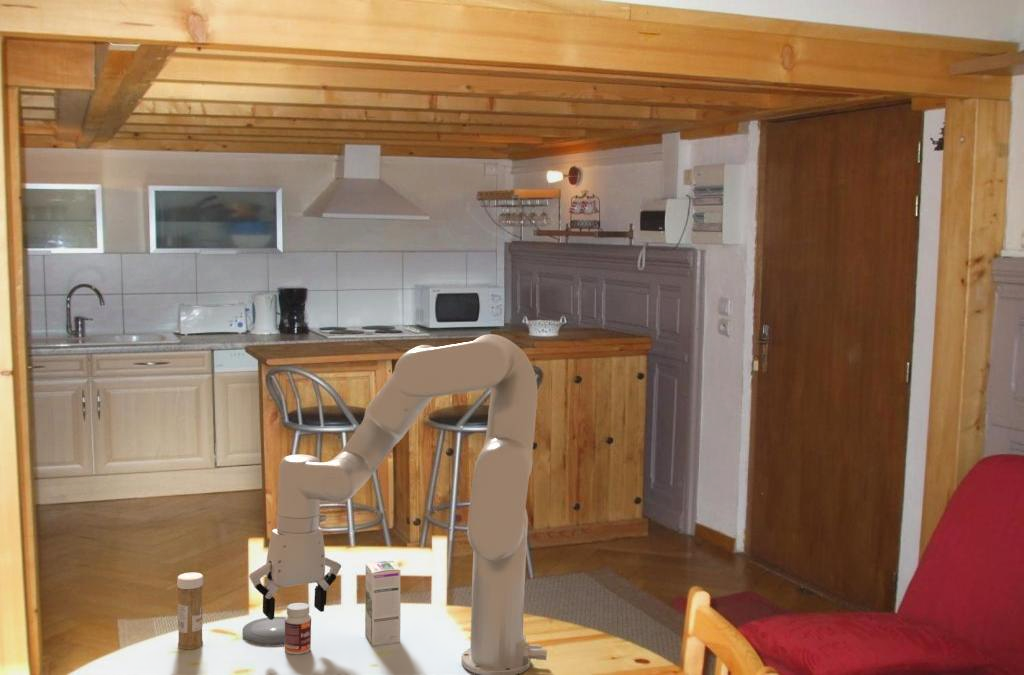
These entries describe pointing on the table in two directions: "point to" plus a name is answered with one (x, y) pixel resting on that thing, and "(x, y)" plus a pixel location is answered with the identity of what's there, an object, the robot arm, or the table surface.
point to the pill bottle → (297, 629)
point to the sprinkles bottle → (190, 610)
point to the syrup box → (382, 603)
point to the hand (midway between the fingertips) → (294, 613)
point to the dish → (265, 631)
